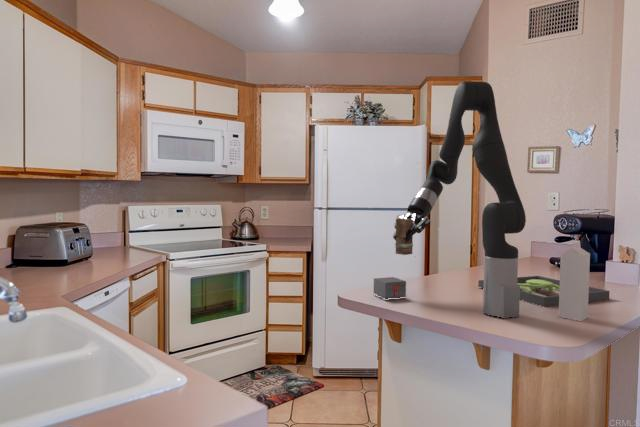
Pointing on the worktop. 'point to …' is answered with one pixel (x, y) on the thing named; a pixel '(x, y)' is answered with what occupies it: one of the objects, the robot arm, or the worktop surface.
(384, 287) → the block
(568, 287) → the milk
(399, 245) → the column
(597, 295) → the dark gray tray
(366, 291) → the worktop surface
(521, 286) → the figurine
